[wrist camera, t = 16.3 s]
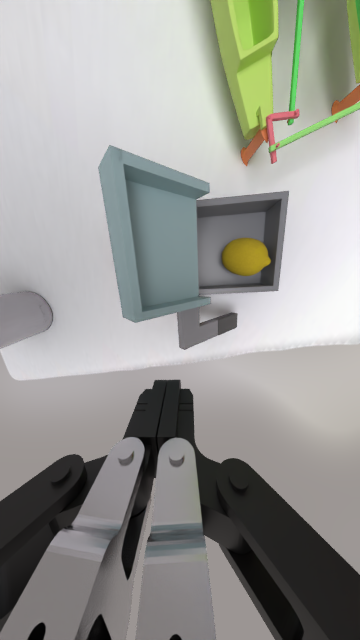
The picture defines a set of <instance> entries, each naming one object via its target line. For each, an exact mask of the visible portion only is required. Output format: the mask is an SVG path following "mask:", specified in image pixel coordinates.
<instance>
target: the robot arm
mask: <svg viewBox="0 0 360 640" xmlns="http://www.w3.org/2000/svg"><path fill="white" fill-rule="evenodd" d="M51 323H52V312H51V309H50V307H49V305H48V304H47V302H46V301H45V300H44V299H43V298H42V297H41V296H39V295H37V294H35V293H33V292H18V293H10V294H2V295H0V349H1V348H4V347H6V346H9V345H11V344H14V343H16V342H18V341H21V340H23V339H26V338H28V337H31V336H33V335H36V334H38V333H40V332H43V331H45V330H47V329H48V328H49V327H50V325H51ZM154 478H156V485H155V495H154V506H153V516H152V526H151V533H150V536H149V538H148V540H147V545H146V551H145V558H144V567H143V576H142V585H141V594H140V604H139V612H138V621H137V630H136V639H135V640H216V634H215V625H214V615H213V606H212V598H211V588H210V579H209V570H208V562H207V552H206V544H205V537H204V535H205V536H207V537H209V538H210V539H212V540H214V541H216V542H217V543H219V546H220V547H221V549H222V551H223V553H224V554H225V556H226V558H227V560H228V561H229V563H230V565H231V566H232V568H233V569H234V571H235V573H236V575H237V576H238V578H239V580H240V581H241V583H242V585H243V587H244V588H245V590H246V591H247V593H248V595H249V597H250V598H251V600H252V602H253V603H254V605H255V607H256V608H257V610H258V612H259V613H260V615H261V617H262V618H263V620H264V622H265V623H266V625H267V627H268V628H269V630H270V632H271V633H272V635H273V637H274V639H275V640H360V575H359V574H358V573H357V572H356V571H355V570H354V569H353V568H352V567H351V566H350V565H349V564H348V563H347V562H346V561H345V560H344V559H343V558H342V557H341V556H340V555H339V554H338V553H337V552H336V551H335V550H334V549H333V548H332V547H331V546H330V545H329V544H328V543H327V542H326V541H325V540H324V539H323V538H322V537H321V536H320V535H319V534H318V533H317V532H316V531H315V530H314V529H313V528H312V527H311V526H310V525H309V524H308V523H307V522H306V521H305V520H304V519H303V518H302V517H301V516H300V515H299V514H298V513H297V512H296V511H295V510H294V509H293V508H292V507H291V506H290V505H289V504H288V503H287V502H286V501H285V500H284V499H283V498H282V497H281V496H280V495H279V494H277V492H276V491H274V489H273V488H271V486H269V484H268V483H266V482H265V480H264V479H263V478H262V477H261V476H260V475H258V474H257V473H256V472H255V471H254V470H253V469H252V468H251V467H250V466H249V465H248V464H247V463H245V462H244V461H241V460H239V459H235V458H231V459H227V460H224V461H223V462H222V463H221V464H220V463H218V462H215V461H213V460H210V459H208V458H206V457H205V456H204V455H202V454H201V453H200V451H199V450H198V448H197V447H196V444H195V439H194V411H193V395H192V393H191V391H190V389H181V382H180V380H155V382H154V385H153V388H152V389H146V390H145V391H144V392H143V393H142V394H141V395H140V397H139V399H138V402H137V405H136V407H135V409H134V412H133V414H132V417H131V419H130V422H129V425H128V427H127V430H126V432H125V435H124V437H123V439H122V440H121V441H119V442H118V443H117V444H116V445H114V446H113V448H112V449H111V451H110V452H109V454H108V455H106V456H104V457H101V458H98V459H95V460H92V461H89V462H86V463H84V461H83V458H81V456H79V455H75V454H73V455H67V456H65V457H63V458H61V459H59V460H57V461H56V462H55V463H53V464H52V465H50V466H49V467H48V468H46V469H45V470H43V471H42V472H41V473H39V474H38V475H36V476H35V477H34V478H32V479H31V480H29V481H28V482H27V483H25V484H24V485H22V486H21V487H20V488H18V489H17V490H15V491H14V492H13V493H11V494H10V495H8V496H7V497H6V498H5V499H3V500H2V501H0V640H126V635H127V630H128V624H129V619H130V612H131V603H132V590H133V583H134V577H135V573H136V568H137V563H138V559H139V554H140V550H141V545H142V541H143V536H144V531H145V527H146V522H147V518H148V513H149V509H150V504H151V491H152V485H153V479H154Z"/></svg>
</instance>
